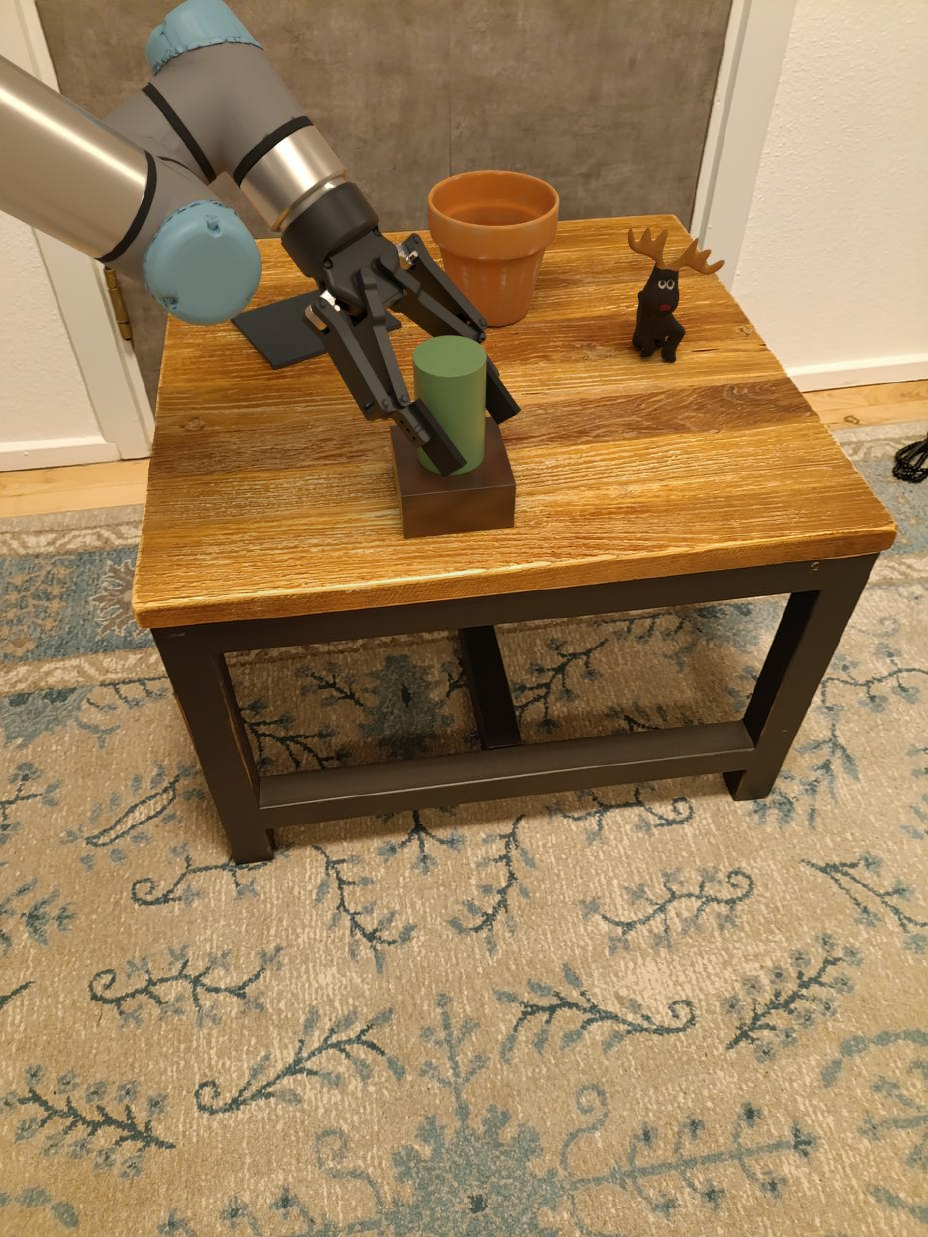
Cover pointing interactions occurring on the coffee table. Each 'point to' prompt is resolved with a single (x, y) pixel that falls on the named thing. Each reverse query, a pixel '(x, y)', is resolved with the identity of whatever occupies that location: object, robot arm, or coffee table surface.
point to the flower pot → (494, 237)
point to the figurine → (663, 295)
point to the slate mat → (287, 330)
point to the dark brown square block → (453, 490)
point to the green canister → (453, 394)
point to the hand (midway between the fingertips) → (483, 442)
